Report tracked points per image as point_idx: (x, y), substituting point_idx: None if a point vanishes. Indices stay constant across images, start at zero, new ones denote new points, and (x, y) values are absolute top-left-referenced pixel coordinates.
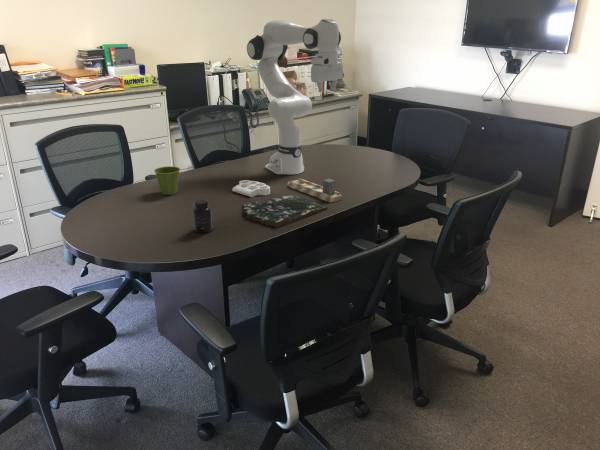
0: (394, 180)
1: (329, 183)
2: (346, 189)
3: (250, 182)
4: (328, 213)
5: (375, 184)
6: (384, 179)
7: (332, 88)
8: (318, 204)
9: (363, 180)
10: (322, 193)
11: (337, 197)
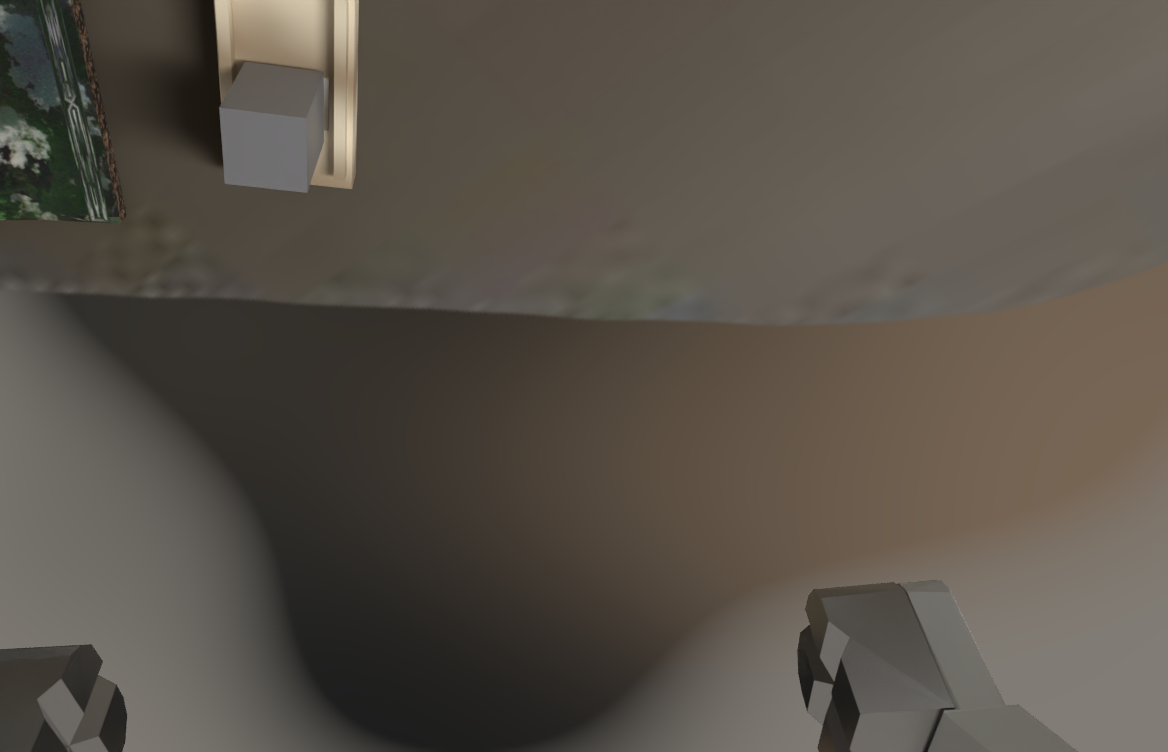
0: (988, 215)
1: (232, 179)
2: (569, 65)
3: None
4: (80, 264)
5: (821, 164)
6: (980, 149)
7: (815, 682)
8: (90, 150)
9: (870, 34)
10: (222, 81)
11: None
